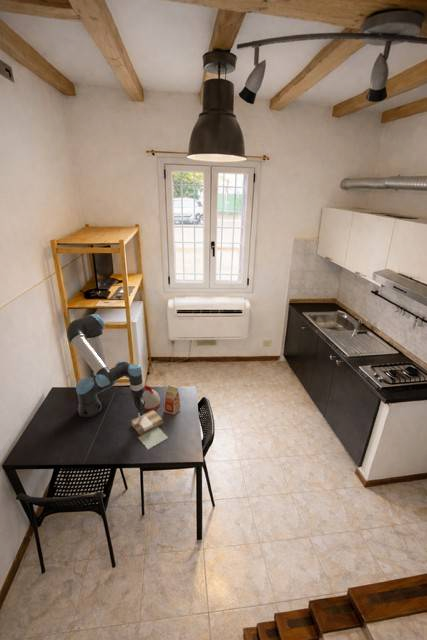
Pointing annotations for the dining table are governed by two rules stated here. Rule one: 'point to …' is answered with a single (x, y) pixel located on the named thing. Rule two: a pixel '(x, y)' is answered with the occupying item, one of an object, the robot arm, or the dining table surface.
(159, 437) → the mat
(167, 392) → the milk carton
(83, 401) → the robot arm
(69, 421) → the dining table surface
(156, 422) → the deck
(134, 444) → the dining table surface
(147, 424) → the white flat block
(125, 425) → the dining table surface
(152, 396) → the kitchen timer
